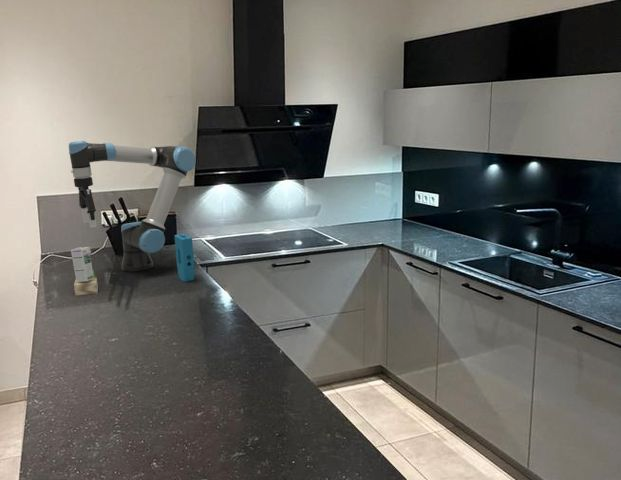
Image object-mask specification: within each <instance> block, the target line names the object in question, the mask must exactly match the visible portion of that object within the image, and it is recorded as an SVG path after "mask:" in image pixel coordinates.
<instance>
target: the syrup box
mask: <svg viewBox="0 0 621 480" xmlns="http://www.w3.org/2000/svg"><path fill="white" fill-rule="evenodd" d="M70 253H71V254H70V255H71V259H72V265H73V270H74V275H75V280H76V281H77V282H86V281H89V280H92V279H95V278H96V275H95V269H94V264H93V257H92V252H91V247H90V246H81V247H76V248H73V249H70Z"/></svg>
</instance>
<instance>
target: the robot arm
mask: <svg viewBox="0 0 621 480" xmlns="http://www.w3.org/2000/svg"><path fill="white" fill-rule="evenodd" d="M68 154H69V158H70V162H71V164H70V165H71V171H70V173H71V174H72V176H73V178H74V179H73V183H74V187H76V188H77V190H78V203H79V207H80V208H81V209H80V210H81V217H82V218H81V219H82V223H83V224H86V223H89V227H90V228H91V229H92V228H98V225H97V218H96V211H97V209H96V206H95V202H94V197H93V194H92V189H90V188H89V187H91V186H93V185H94V183H93V182H94V181H93V177H92V168H91V167H92V166H91V163H95V162H104V161H105V162H117V163H118V162H119V163H120V162H121V163H131V164H132V163H133V164H145V165H146V164H147V165H148V166H150V167H156V168H157V167H158V168H161V169H162V170H163V176H162V178H161V180H160V183H159V184H158V188H157V190H156V192H155V196H154V198H153V201H152V203H151V205H150V208H149V211H148V214H147V216H146V218H144V219H142V220H141V221H133V222H129V223H122V225H121V231H120V232H121V238H122V241H121V242H122V247H123V257H122V261H121V263H120V264H121V270H122V271H123V272H141V271H146V270H150V269H151V268H153V267H154V262H153V260H152V257H151V256H150V254H153V253H157V252H159V251H160V250H161V249H162V248H163V247H164V246H165V242H166V236H165V234H164V233H165V230H166V227H165V225H164V224H165V222H166V219H167V217H168V214H169V211H170V209H171V206H172V203H174V199H175V197H176V194H177V192H178V189H179V185H180V184H181V181H182V180H183V179H185V178H186V176H187V174H188V172H190V171H191V170H193V169H194V167H195V165H196V162H197V161H196V160H197V159H196V156H195V153H194V151H193V150H192V149H190V148H189V147H187V146H183V145H182V146H181V145H180V146H178V145H177V146H176V145H170V146H169V145H167V146H150V147H149V148H148V147H139V146H138V147H135V146H125V145H124V146H123V145H114V144H113V143H111V142H104V143H93V142H91V143H90V142H87V141H85V140H80V141H71V142H69V143H68Z"/></svg>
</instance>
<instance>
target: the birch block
mask: <svg viewBox="0 0 621 480" xmlns="http://www.w3.org/2000/svg"><path fill="white" fill-rule="evenodd" d="M98 285H99V284H98V277H96V276H95V279H92V280H89V281H86V282H77V281H76V279H75V280H74V284H73V288H74V294H75V295H74V296H75V297H76V296H85V295H93V294H98V291H99V286H98Z"/></svg>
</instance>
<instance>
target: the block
mask: <svg viewBox="0 0 621 480" xmlns="http://www.w3.org/2000/svg"><path fill="white" fill-rule="evenodd" d="M174 244H175V258H176V266H177V272H178V273H177V274H178V279H180V280H181V281H182V282H183V283H184V282H185V283H186V282H190V281H192V282H193V281H194V280H195V260H194V258H195V257H194V246H193V238H192V237H191V236H189V235H187V234H186V233H181V234H175V235H174Z"/></svg>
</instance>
